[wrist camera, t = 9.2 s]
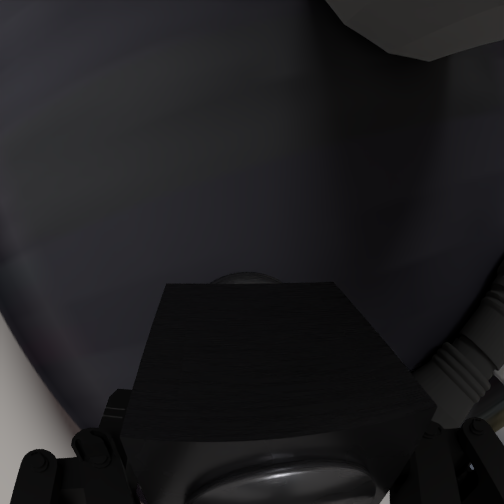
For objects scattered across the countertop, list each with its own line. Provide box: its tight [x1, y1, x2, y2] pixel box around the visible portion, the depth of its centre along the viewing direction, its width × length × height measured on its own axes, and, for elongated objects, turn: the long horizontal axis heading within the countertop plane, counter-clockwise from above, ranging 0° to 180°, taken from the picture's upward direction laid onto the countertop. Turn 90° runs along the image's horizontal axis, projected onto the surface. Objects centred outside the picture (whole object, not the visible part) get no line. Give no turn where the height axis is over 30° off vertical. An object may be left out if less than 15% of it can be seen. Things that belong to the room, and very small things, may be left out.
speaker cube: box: [120, 282, 438, 504], centre depth 10 cm, size 7×7×8 cm
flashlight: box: [412, 259, 504, 429], centre depth 16 cm, size 15×5×5 cm, turn 140°
